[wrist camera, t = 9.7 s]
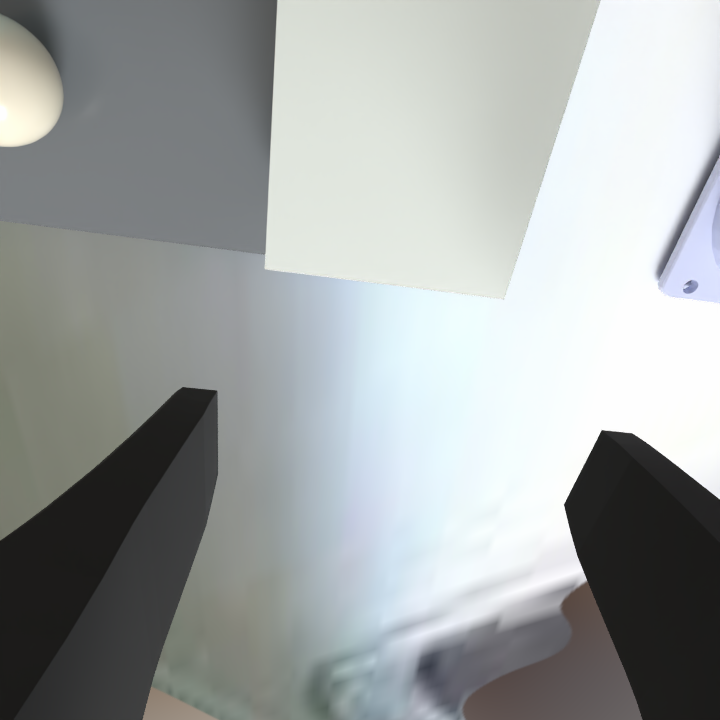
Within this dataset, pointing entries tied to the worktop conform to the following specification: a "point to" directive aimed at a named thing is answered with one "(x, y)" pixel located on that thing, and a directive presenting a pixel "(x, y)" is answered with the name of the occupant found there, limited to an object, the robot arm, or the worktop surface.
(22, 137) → the marble
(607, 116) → the worktop surface
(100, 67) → the board
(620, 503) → the robot arm
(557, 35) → the white box
